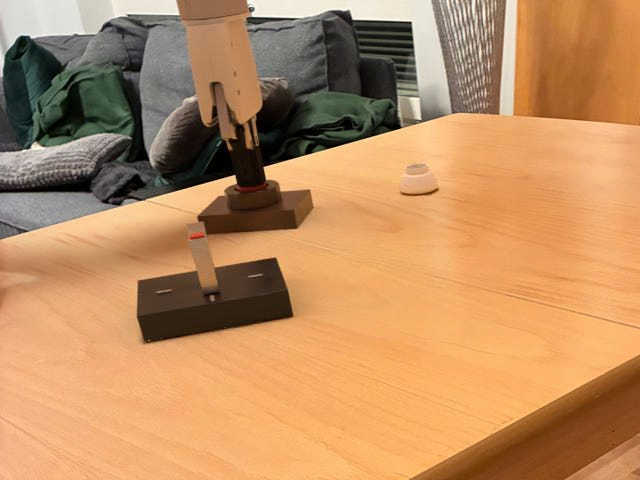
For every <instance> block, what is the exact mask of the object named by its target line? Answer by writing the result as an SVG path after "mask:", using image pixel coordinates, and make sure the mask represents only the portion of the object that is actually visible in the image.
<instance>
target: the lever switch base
mask: <svg viewBox="0 0 640 480" xmlns="http://www.w3.org/2000/svg"><path fill="white" fill-rule="evenodd" d="M215 269H216V273H217V278H218V283H219V289H220V292H219V293H213V294H207V295H203V292H202V289H201V285H200V281H199V277H198V273H197V270H191V271H187V272H179V273H173V274H167V275H161V276H155V277H150V278H144V279H138V280H137V294H136V297H137V298H136V319H137V323H138V326H139V328H140V332H141V335H142V338H143V342H144V341H148V340H155V341H157V340H156V339H161V338H166V339H170V338H169V337H172V338H176V337H175V336H178V337H182V336H181V335H183V336H188V335H187V334H189V335H193V334H192V333H194V334H198V333H197V332H200V333H204V332H205V331H206V332H210V331H209V330H211V331H215V330H214V329H217V330H219V329H218V328H222V329H225V328H224V327H228V328H232V327H231V326H234V327H238V326H237V325H239V326H243V325H242V324H245V325H249V324H248V323H251V324H253V323H252V322H256V323H259V322H258V321H262V322H266V321H265V320H267V321H272V319H273V320H278V319H284V318H289V317H293V316H294V312H293V307H292V303H291V296H290V293H289V289H288V286H287V284H286V280H285V278H284V275H283V272H282V269H281V266H280V264H279V260H278V257H276V256H275V257H268V258H263V259H257V260H251V261H246V262H245V261H244V262H239V263H234V264H233V263H232V264H227V265H221V266H215ZM161 340H162V339H161Z"/></svg>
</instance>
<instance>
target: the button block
mask: <svg viewBox="0 0 640 480" xmlns="http://www.w3.org/2000/svg"><path fill="white" fill-rule="evenodd" d="M265 183H266V186H267V187H265V188H262V189H259V190H254V191H245V192H239V191H237V188H236V187H237V186H238V185H237V183H234V184H231V185H229V186H227V187H226V188H225V189H224V190H223V195H218V196H217V197H216V198H214V200H212V202H210V203H209V204H208V205H207V206H206V207H205V208H204V209H203V210H202V211H201V212H199V214H197V216H196V219H197V222H204V225H205V229H206V233H207V236H208V235H221V234H234V233H235V234H236V233H250V232H251V233H252V232H266V231H268V232H269V231H282V230H296V229H299V228H300V226H301V225H302V224H303V222H304V221H305V220H306V218H307V217H308V216H309V214H310V213H311V212H312V211H313V209H314V208H315V207H314V202H313V201H314V200H313V196H312V191H311V189H295V190H283V191H282V190H281V186H280V183H279V182H278V181H277V180H274V179H266V181H265Z"/></svg>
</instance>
